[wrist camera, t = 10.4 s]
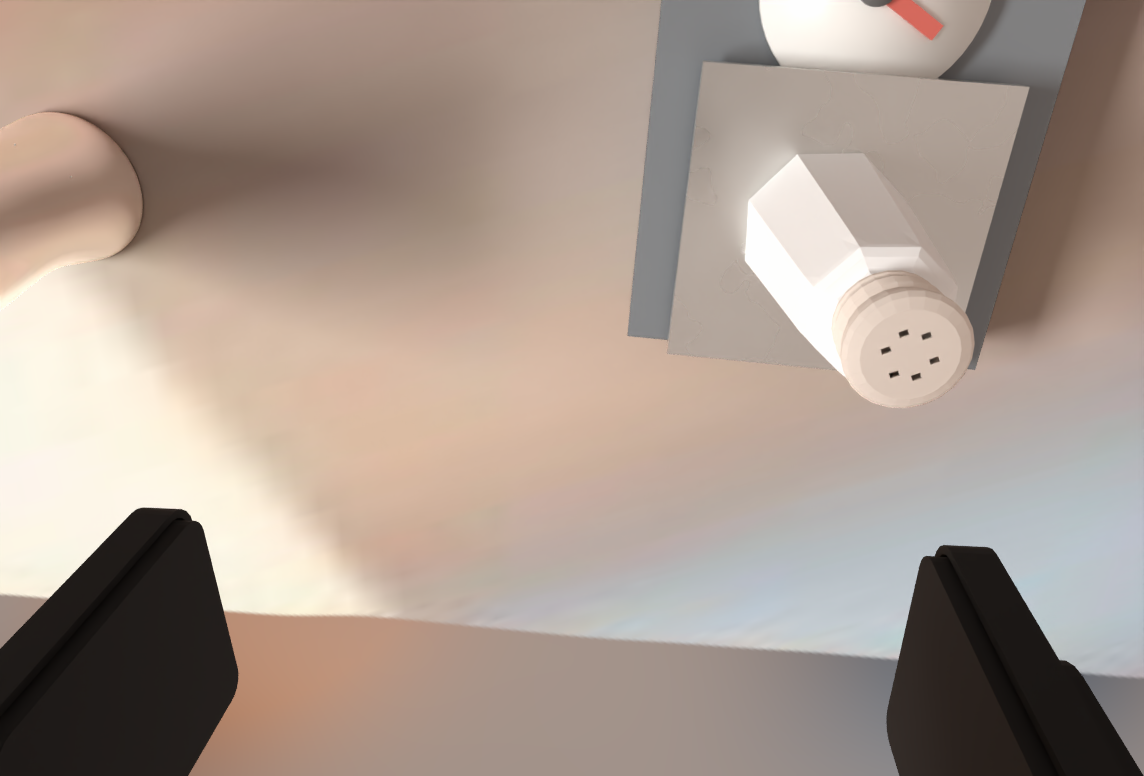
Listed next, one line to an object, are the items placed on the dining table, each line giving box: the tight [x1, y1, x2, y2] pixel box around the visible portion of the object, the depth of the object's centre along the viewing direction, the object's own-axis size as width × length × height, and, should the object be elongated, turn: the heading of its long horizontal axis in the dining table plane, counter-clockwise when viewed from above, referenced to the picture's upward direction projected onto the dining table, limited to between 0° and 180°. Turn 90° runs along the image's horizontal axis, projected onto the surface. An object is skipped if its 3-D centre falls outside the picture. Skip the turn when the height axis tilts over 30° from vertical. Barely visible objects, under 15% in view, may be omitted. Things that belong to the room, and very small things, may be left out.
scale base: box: [628, 0, 1086, 370], centre depth 29 cm, size 16×13×4 cm
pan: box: [667, 60, 1030, 371], centre depth 28 cm, size 10×10×1 cm
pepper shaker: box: [745, 153, 975, 408], centre depth 23 cm, size 5×5×11 cm
